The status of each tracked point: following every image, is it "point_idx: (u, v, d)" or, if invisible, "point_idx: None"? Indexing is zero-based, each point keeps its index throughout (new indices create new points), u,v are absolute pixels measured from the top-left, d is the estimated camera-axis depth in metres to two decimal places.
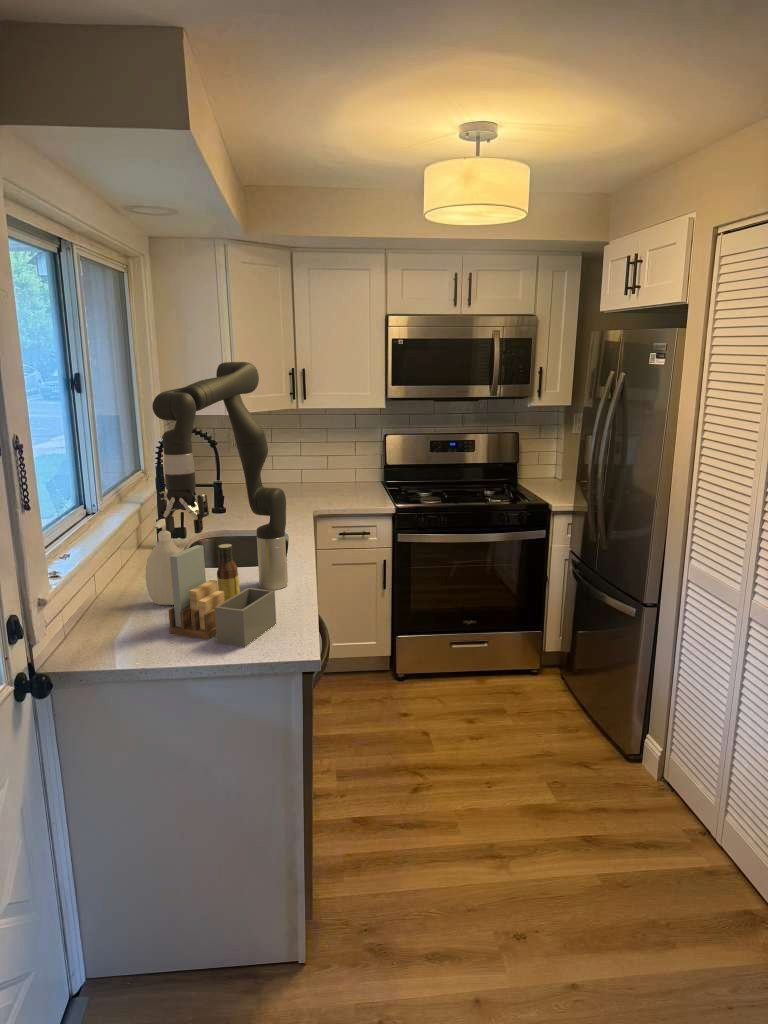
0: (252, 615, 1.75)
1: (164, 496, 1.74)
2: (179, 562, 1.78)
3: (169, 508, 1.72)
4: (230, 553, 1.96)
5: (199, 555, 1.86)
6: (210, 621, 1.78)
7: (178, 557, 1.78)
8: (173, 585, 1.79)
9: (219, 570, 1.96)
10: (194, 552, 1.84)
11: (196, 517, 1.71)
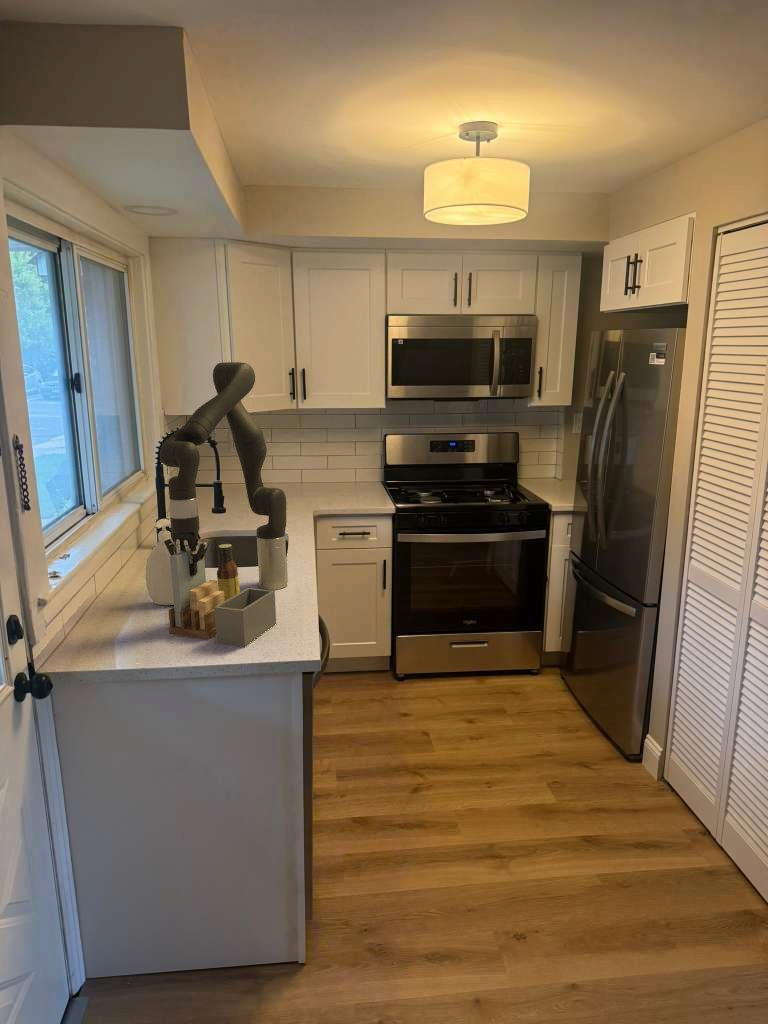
0: (252, 615, 1.75)
1: (171, 541, 1.83)
2: (179, 562, 1.78)
3: (179, 551, 1.82)
4: (230, 553, 1.96)
5: None
6: (210, 621, 1.78)
7: (178, 557, 1.78)
8: (173, 585, 1.79)
9: (219, 570, 1.96)
10: None
11: (191, 562, 1.82)
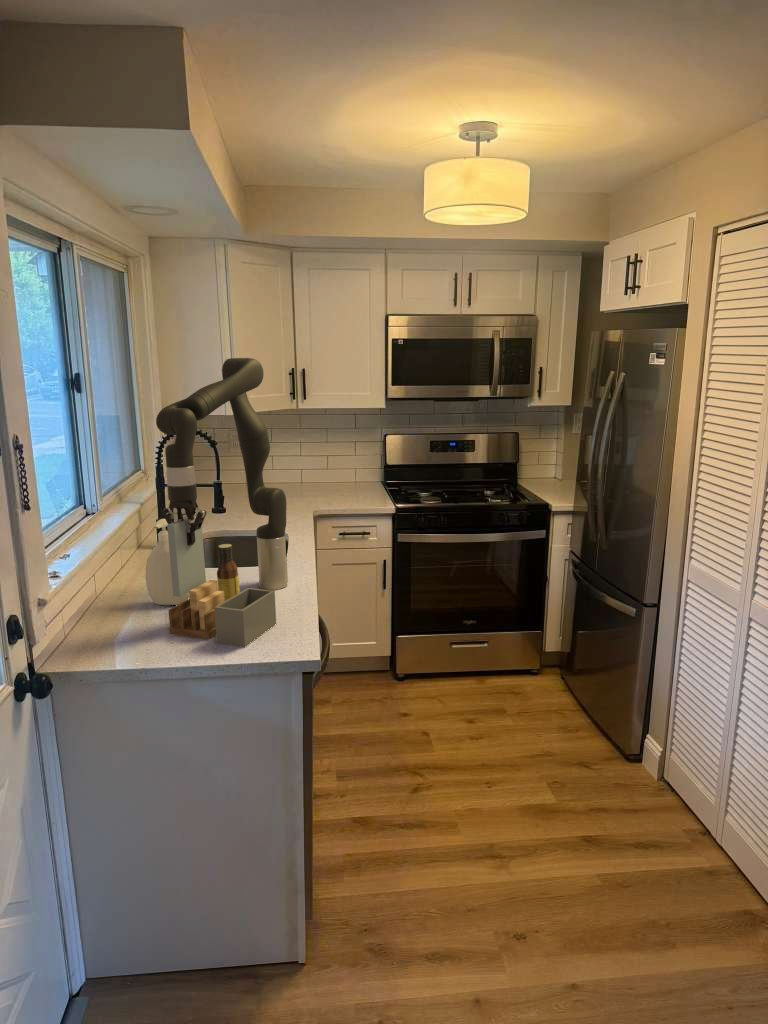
0: (252, 615, 1.75)
1: (168, 510, 1.82)
2: (176, 531, 1.76)
3: (176, 520, 1.80)
4: (230, 553, 1.96)
5: None
6: (210, 621, 1.78)
7: (175, 525, 1.76)
8: (170, 554, 1.77)
9: (219, 570, 1.96)
10: None
11: (189, 531, 1.80)
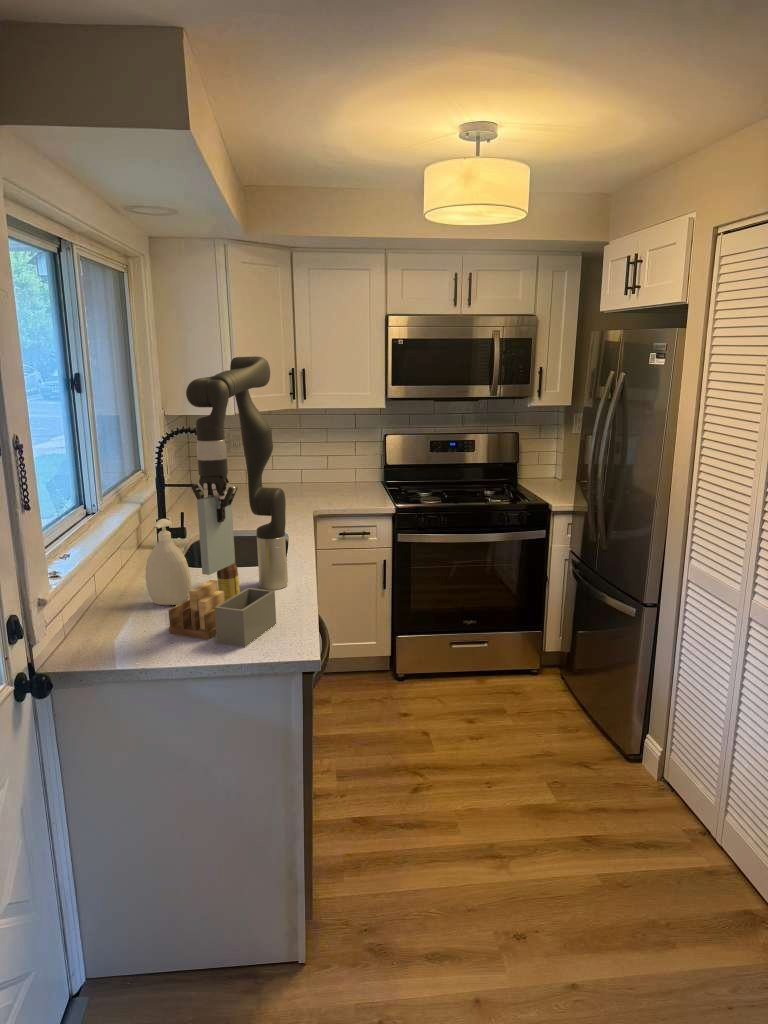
0: (252, 615, 1.75)
1: (198, 486, 1.77)
2: (206, 506, 1.71)
3: (206, 496, 1.75)
4: None
5: None
6: (210, 621, 1.78)
7: (205, 501, 1.71)
8: (200, 530, 1.72)
9: (219, 570, 1.96)
10: None
11: (219, 507, 1.75)
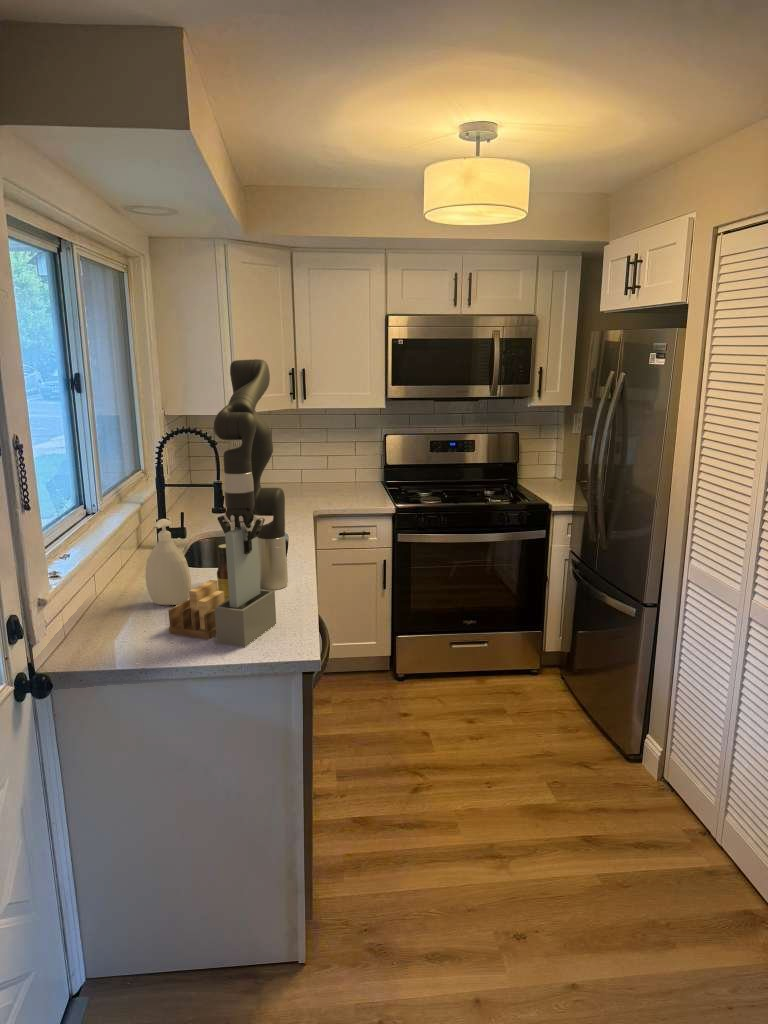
0: (252, 615, 1.75)
1: (224, 517, 1.76)
2: (234, 540, 1.71)
3: (233, 528, 1.74)
4: None
5: None
6: (210, 621, 1.78)
7: (233, 534, 1.70)
8: (228, 564, 1.72)
9: (219, 570, 1.96)
10: None
11: (246, 539, 1.74)
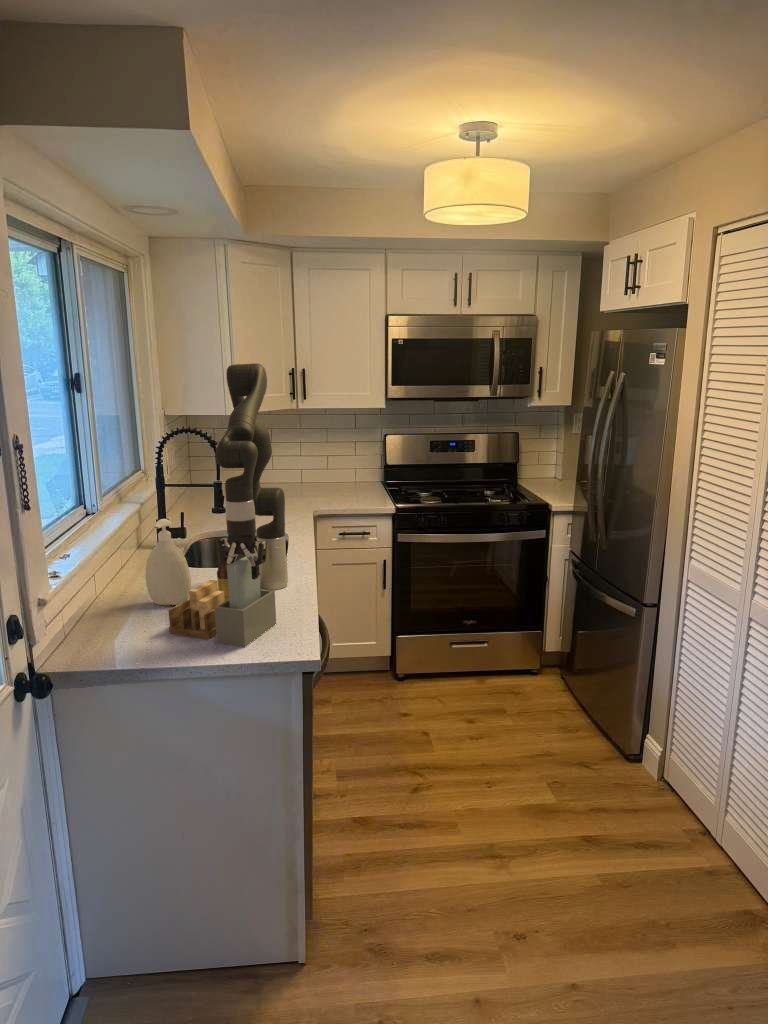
0: (252, 615, 1.75)
1: (225, 542, 1.77)
2: (236, 572, 1.72)
3: (231, 554, 1.76)
4: None
5: None
6: (210, 621, 1.78)
7: (235, 567, 1.72)
8: (230, 595, 1.73)
9: (219, 570, 1.96)
10: None
11: (254, 564, 1.75)
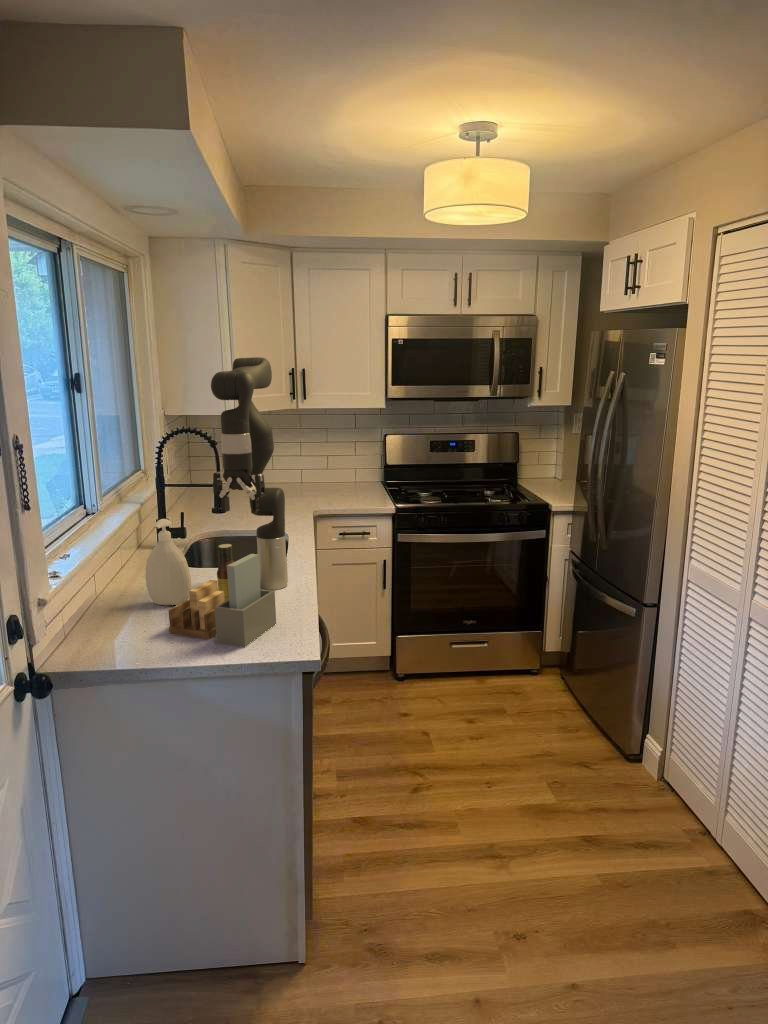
0: (252, 615, 1.75)
1: (220, 476, 1.74)
2: (236, 572, 1.72)
3: (226, 488, 1.72)
4: (230, 553, 1.96)
5: (254, 565, 1.81)
6: (210, 621, 1.78)
7: (235, 567, 1.72)
8: (230, 595, 1.73)
9: (219, 570, 1.96)
10: (250, 561, 1.78)
11: (253, 497, 1.71)
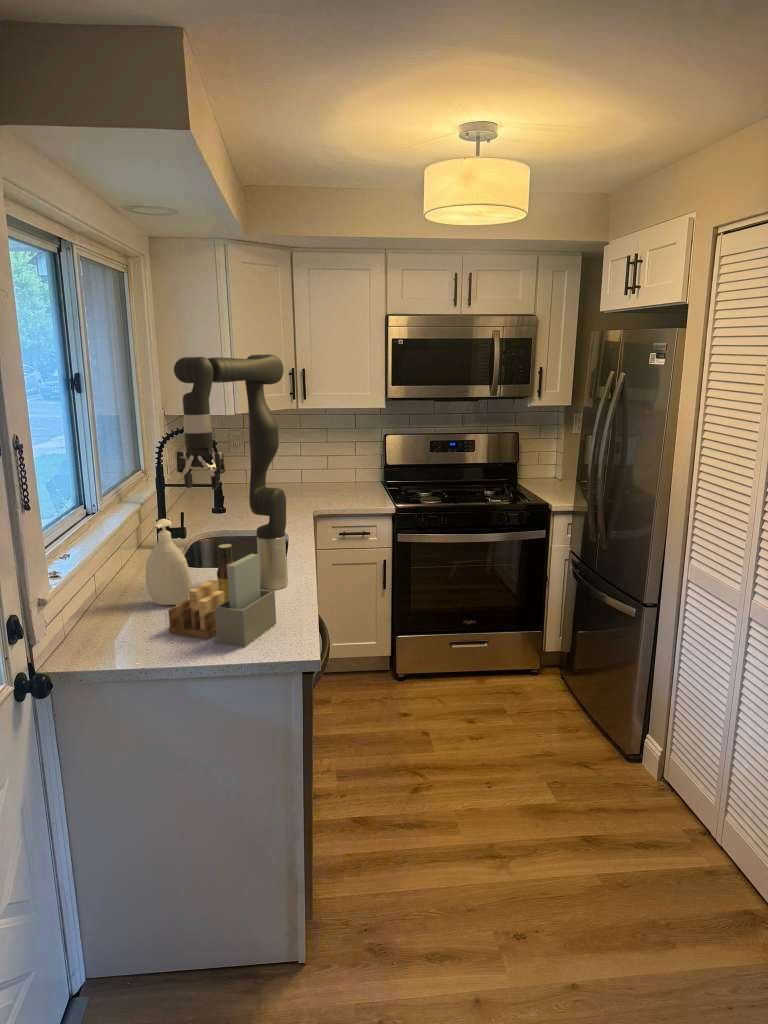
0: (252, 615, 1.75)
1: (183, 455, 1.86)
2: (236, 572, 1.72)
3: (188, 466, 1.85)
4: (230, 553, 1.96)
5: (254, 565, 1.81)
6: (210, 621, 1.78)
7: (235, 567, 1.72)
8: (230, 595, 1.73)
9: (219, 570, 1.96)
10: (250, 561, 1.78)
11: (213, 474, 1.83)
